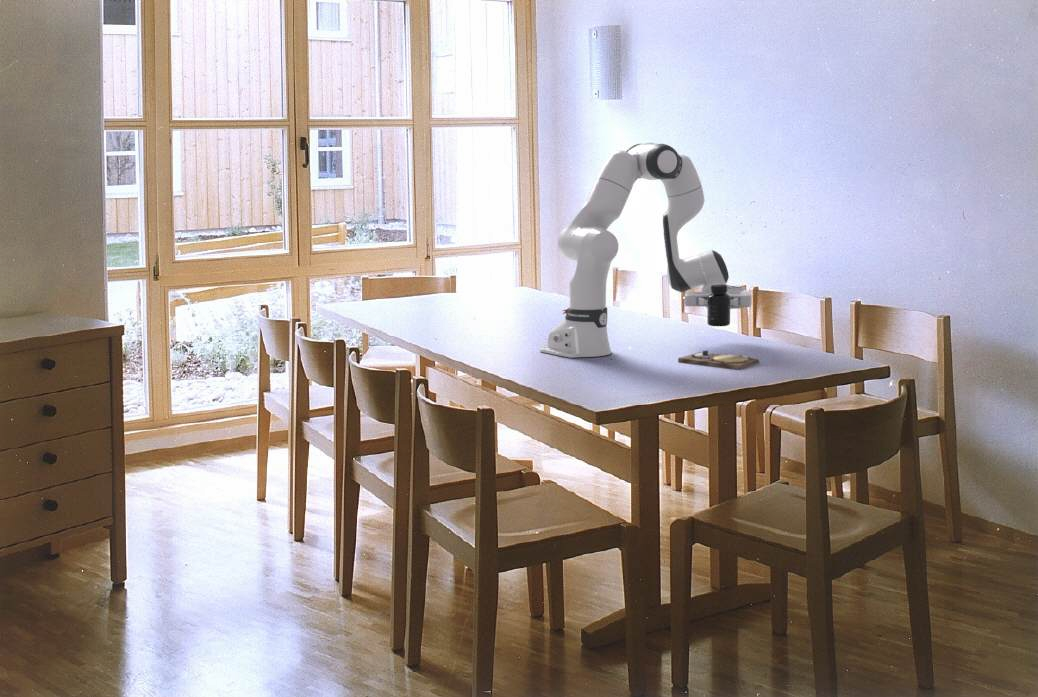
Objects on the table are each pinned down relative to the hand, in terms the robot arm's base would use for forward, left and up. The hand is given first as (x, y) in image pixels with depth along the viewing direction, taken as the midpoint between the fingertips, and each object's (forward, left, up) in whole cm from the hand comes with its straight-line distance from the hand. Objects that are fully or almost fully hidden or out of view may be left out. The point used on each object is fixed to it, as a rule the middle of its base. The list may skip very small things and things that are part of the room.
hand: (718, 303), depth 364 cm
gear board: (+7, -11, -16) cm, 20 cm away
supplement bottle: (-1, +1, -7) cm, 7 cm away
